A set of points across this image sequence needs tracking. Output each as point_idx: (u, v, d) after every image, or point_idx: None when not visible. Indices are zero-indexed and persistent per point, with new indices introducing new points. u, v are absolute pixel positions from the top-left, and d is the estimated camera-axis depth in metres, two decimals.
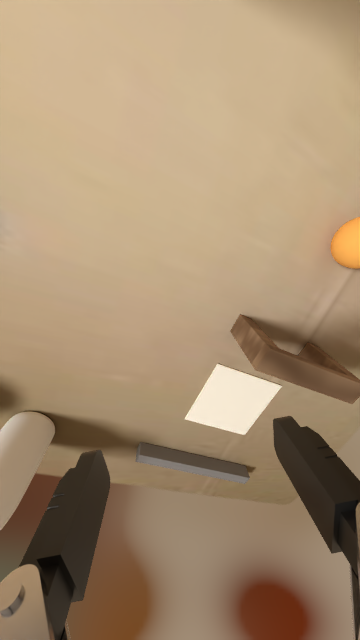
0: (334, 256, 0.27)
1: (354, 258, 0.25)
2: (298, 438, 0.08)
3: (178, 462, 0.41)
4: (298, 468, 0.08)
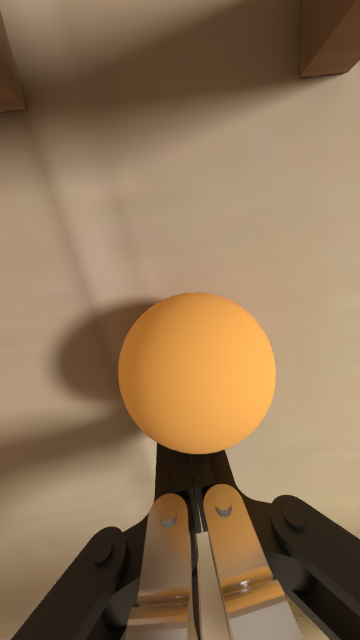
0: None
1: None
2: None
3: None
4: None
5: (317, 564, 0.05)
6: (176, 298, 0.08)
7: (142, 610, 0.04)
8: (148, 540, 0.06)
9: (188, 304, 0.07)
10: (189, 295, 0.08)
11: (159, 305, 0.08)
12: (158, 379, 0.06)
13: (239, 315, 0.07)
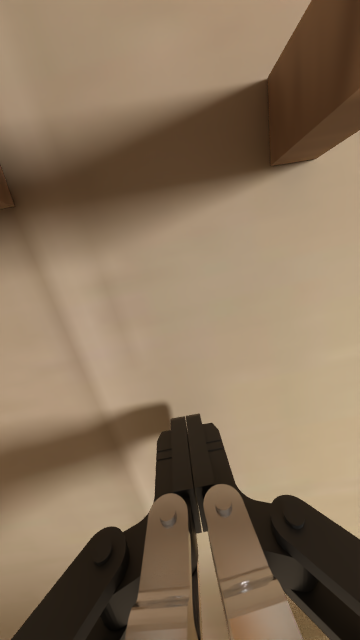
0: None
1: None
2: (195, 432, 0.09)
3: None
4: None
5: (317, 564, 0.05)
6: None
7: (142, 610, 0.04)
8: (148, 540, 0.06)
9: None
10: None
11: None
12: None
13: None
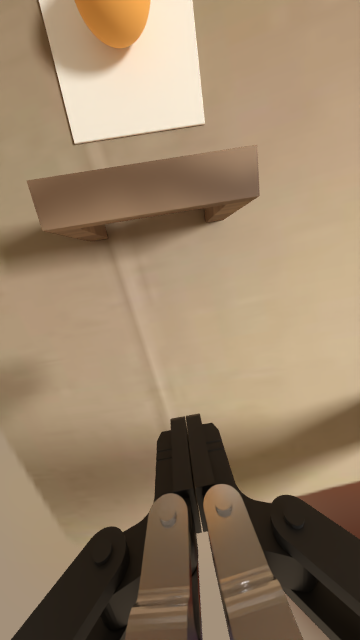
0: None
1: (132, 30, 0.17)
2: (195, 433, 0.09)
3: None
4: None
5: (317, 564, 0.05)
6: (116, 45, 0.18)
7: (142, 610, 0.04)
8: (148, 540, 0.06)
9: (121, 47, 0.18)
10: (122, 44, 0.18)
11: (108, 43, 0.18)
12: None
13: (138, 37, 0.18)
